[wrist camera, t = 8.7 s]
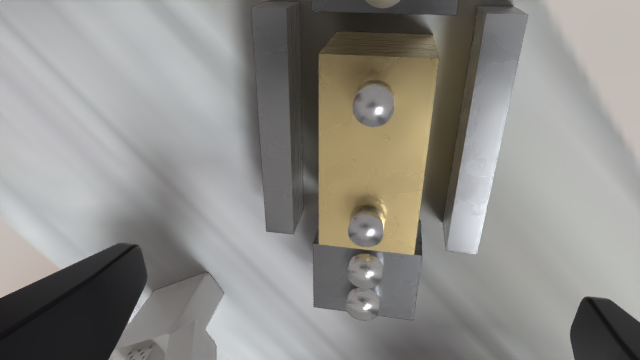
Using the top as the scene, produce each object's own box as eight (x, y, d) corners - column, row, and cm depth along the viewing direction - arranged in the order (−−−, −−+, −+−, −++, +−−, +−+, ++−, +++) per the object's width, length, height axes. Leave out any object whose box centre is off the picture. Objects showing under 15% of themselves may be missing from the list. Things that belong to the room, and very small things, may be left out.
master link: (413, 199, 19) (414, 269, 15) (334, 192, 20) (314, 257, 16) (433, 34, 16) (440, 65, 12) (338, 31, 16) (313, 59, 12)
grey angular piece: (169, 313, 25) (79, 451, 18) (151, 291, 25) (51, 425, 18) (270, 280, 23) (210, 426, 16) (252, 255, 22) (182, 395, 15)
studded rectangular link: (458, 287, 21) (466, 336, 18) (281, 266, 22) (264, 308, 20) (539, -117, 13) (570, -132, 11) (262, -112, 15) (230, -124, 12)
